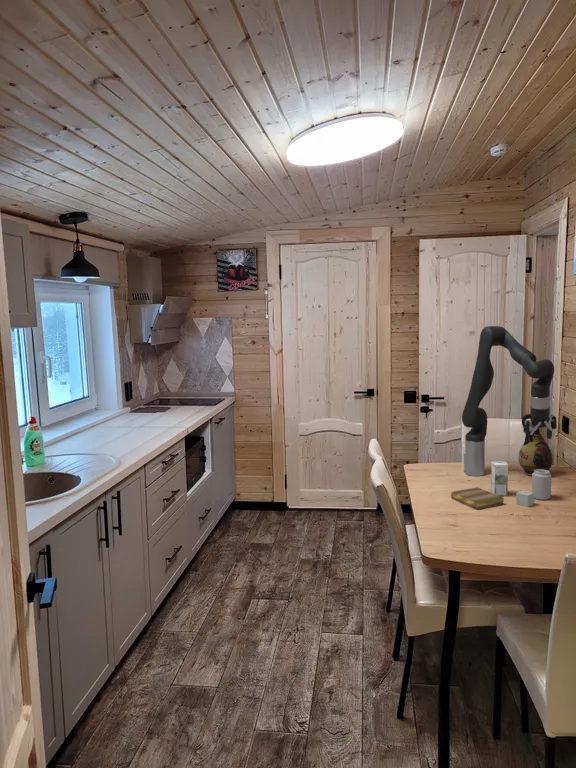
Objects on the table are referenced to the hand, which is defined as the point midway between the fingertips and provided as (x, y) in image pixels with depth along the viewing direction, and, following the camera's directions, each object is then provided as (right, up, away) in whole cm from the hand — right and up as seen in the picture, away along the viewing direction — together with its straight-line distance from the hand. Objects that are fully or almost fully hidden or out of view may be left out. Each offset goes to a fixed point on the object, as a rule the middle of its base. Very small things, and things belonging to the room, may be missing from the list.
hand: (539, 440), depth 244 cm
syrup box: (-17, -24, +2) cm, 30 cm away
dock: (-30, -26, -6) cm, 40 cm away
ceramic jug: (+10, -20, +30) cm, 38 cm away
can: (-1, -25, -5) cm, 25 cm away
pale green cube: (-11, -26, -12) cm, 31 cm away
